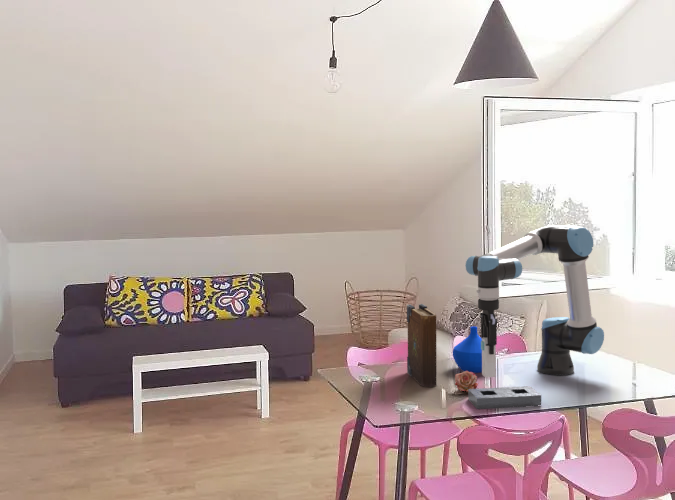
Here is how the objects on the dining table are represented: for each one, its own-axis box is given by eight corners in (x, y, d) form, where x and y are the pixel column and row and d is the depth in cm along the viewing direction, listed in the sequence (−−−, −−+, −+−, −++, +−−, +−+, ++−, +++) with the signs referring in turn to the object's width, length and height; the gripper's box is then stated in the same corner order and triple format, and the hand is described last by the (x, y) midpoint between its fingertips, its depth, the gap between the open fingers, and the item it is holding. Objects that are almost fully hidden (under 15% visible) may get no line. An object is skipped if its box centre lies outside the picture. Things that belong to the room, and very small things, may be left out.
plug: (492, 373, 279) (492, 337, 277) (495, 376, 275) (495, 339, 273) (480, 374, 278) (480, 337, 277) (483, 377, 274) (483, 340, 273)
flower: (451, 384, 299) (451, 371, 294) (473, 378, 300) (473, 365, 295) (459, 403, 292) (459, 390, 287) (482, 397, 293) (481, 384, 287)
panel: (529, 397, 285) (529, 386, 285) (541, 407, 273) (541, 395, 273) (468, 400, 283) (468, 389, 283) (477, 410, 271) (477, 398, 271)
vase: (448, 373, 321) (448, 330, 319) (457, 363, 338) (457, 321, 336) (491, 377, 314) (491, 332, 312) (498, 366, 331) (498, 324, 329)
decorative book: (407, 372, 324) (406, 304, 320) (423, 371, 325) (422, 303, 322) (422, 388, 301) (421, 314, 297) (439, 386, 302) (438, 313, 299)
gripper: (472, 295, 282) (472, 355, 284) (485, 303, 265) (485, 367, 267) (491, 294, 282) (491, 354, 285) (505, 302, 265) (506, 366, 268)
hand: (488, 360), depth 276 cm, fingers closed on plug, 4 cm apart
